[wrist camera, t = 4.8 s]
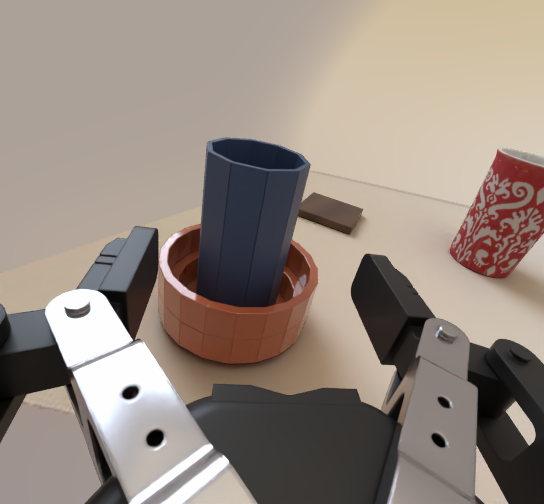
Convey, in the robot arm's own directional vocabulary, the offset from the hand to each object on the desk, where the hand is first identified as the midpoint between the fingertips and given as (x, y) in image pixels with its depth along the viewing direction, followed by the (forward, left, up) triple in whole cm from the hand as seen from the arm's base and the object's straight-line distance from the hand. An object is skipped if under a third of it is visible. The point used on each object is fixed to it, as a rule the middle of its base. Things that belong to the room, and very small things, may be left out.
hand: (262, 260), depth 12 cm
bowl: (-4, +8, -11) cm, 14 cm away
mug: (+17, +36, -11) cm, 41 cm away
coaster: (-3, +33, -11) cm, 34 cm away
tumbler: (-4, +8, -10) cm, 13 cm away
